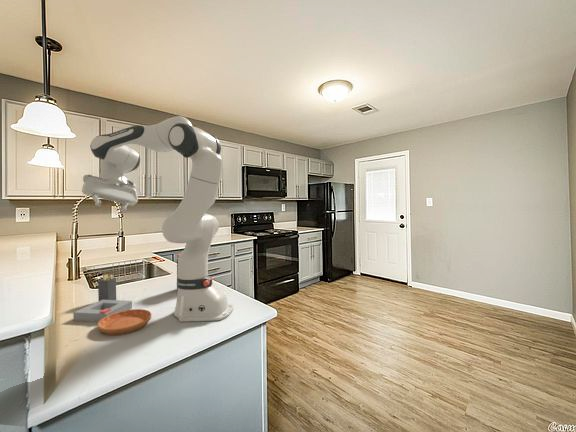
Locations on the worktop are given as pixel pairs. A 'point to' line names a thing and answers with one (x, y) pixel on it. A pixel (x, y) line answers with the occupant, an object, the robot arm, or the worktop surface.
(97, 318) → the socket
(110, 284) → the plug
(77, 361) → the worktop surface
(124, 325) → the saucer
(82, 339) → the worktop surface
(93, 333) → the worktop surface
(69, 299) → the worktop surface
